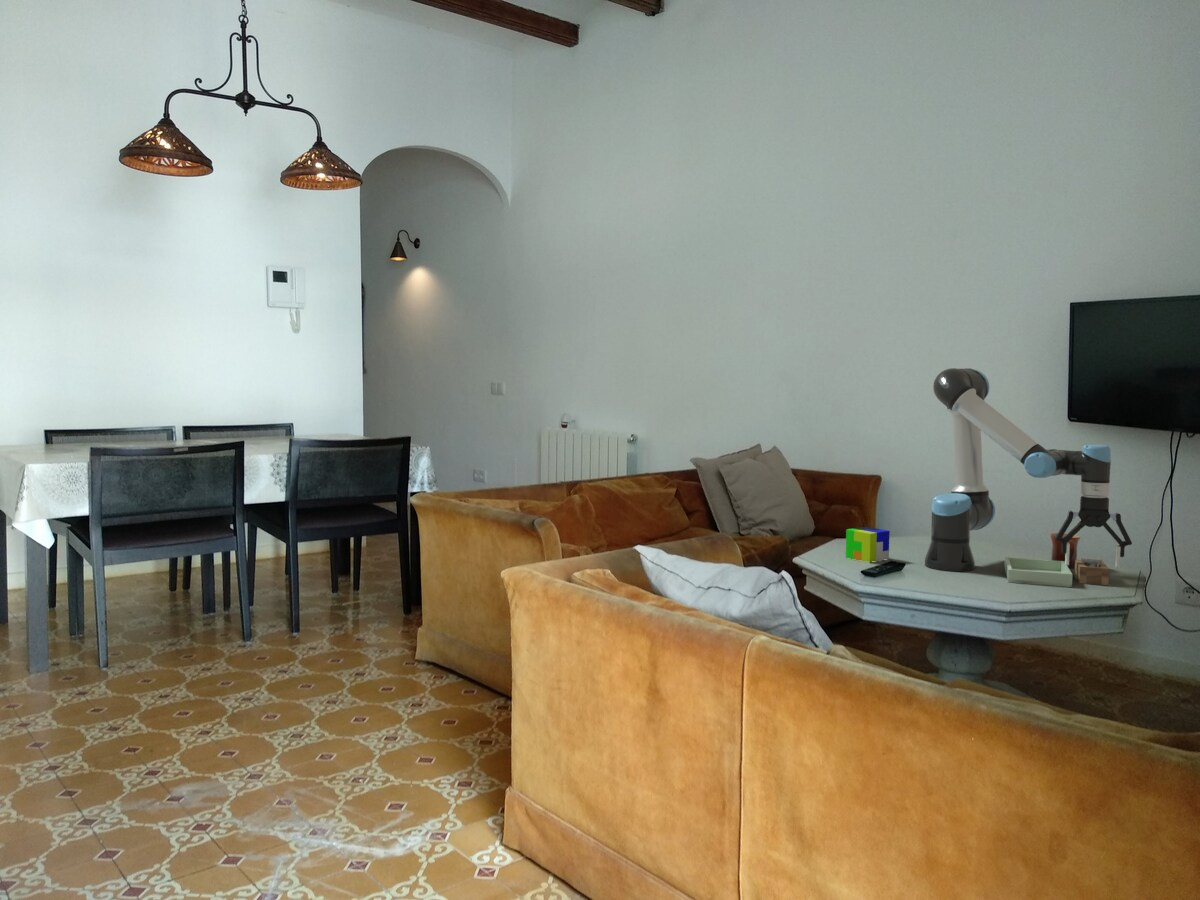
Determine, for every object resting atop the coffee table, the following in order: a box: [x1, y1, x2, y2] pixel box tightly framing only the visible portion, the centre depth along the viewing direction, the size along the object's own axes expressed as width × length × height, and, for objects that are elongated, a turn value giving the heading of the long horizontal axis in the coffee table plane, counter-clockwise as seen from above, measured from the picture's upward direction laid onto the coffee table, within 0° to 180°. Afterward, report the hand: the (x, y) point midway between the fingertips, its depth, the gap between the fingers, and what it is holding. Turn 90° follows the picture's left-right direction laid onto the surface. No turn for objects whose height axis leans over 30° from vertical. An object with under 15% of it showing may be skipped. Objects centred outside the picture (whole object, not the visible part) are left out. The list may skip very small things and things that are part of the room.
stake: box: [1081, 557, 1103, 567], centre depth 263 cm, size 5×2×7 cm, turn 68°
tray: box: [1004, 556, 1073, 588], centre depth 267 cm, size 17×20×4 cm
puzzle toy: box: [845, 526, 890, 562], centre depth 295 cm, size 10×10×10 cm
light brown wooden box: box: [1074, 559, 1110, 586], centre depth 263 cm, size 11×8×5 cm
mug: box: [1049, 532, 1081, 569], centre depth 281 cm, size 12×9×10 cm
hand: (1091, 565), depth 263 cm, fingers open, 13 cm apart
